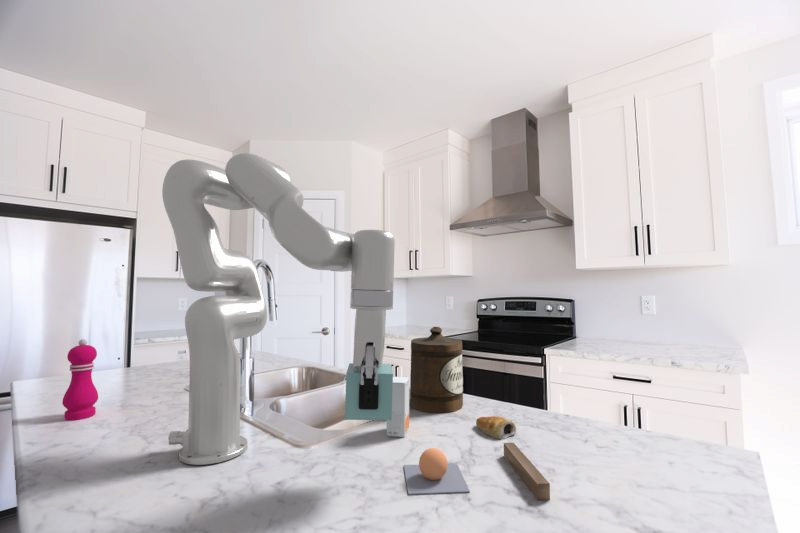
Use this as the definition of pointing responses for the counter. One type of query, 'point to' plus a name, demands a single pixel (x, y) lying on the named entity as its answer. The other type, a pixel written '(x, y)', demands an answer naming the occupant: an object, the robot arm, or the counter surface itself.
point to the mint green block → (383, 398)
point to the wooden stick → (527, 472)
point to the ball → (433, 464)
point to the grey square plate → (435, 481)
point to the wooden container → (436, 373)
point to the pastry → (496, 427)
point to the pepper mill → (81, 383)
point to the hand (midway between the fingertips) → (368, 400)
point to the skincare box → (399, 408)
